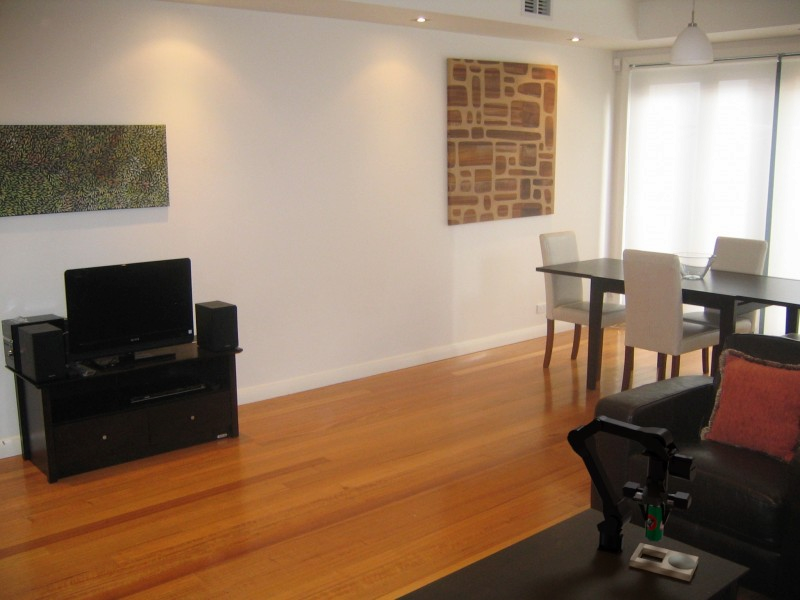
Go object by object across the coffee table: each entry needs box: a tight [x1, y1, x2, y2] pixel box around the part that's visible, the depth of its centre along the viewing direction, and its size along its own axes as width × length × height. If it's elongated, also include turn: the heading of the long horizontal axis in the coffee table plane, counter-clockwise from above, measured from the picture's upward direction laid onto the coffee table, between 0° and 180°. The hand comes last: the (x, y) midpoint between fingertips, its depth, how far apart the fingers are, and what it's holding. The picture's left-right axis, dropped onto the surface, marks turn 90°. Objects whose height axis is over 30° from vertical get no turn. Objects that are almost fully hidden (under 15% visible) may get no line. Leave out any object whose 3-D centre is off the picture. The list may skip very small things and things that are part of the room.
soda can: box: [644, 502, 666, 543], centre depth 237 cm, size 5×5×12 cm
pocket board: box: [629, 542, 699, 582], centre depth 237 cm, size 17×12×2 cm
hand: (654, 522), depth 237 cm, fingers closed on soda can, 5 cm apart
